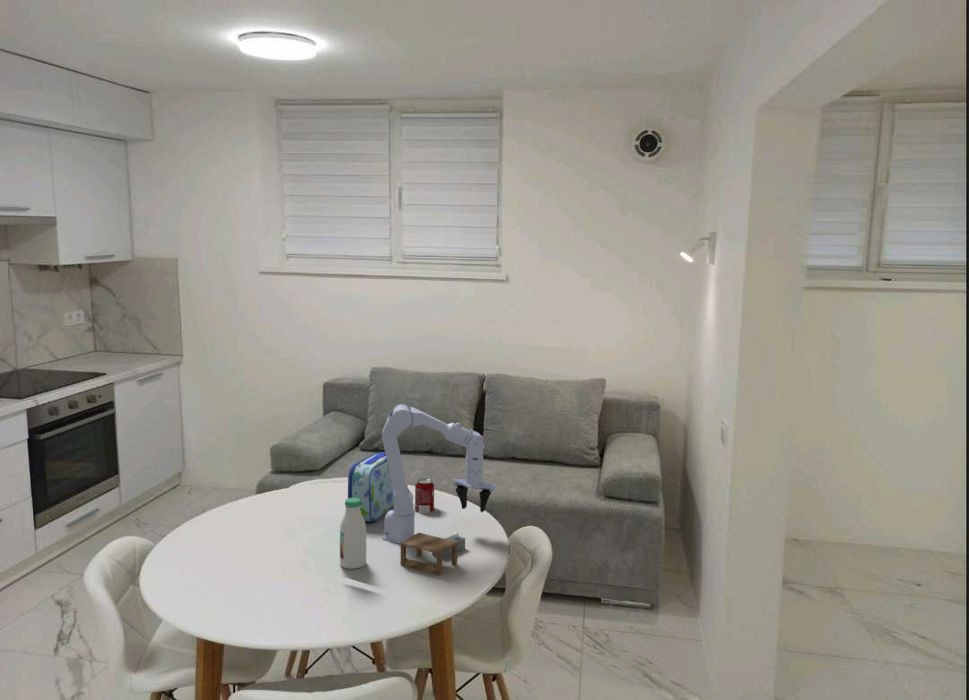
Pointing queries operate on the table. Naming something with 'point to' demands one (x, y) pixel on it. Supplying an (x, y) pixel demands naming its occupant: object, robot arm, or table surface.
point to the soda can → (424, 495)
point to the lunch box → (371, 486)
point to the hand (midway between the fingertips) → (473, 509)
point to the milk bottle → (353, 536)
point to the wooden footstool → (429, 545)
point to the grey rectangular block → (448, 552)
